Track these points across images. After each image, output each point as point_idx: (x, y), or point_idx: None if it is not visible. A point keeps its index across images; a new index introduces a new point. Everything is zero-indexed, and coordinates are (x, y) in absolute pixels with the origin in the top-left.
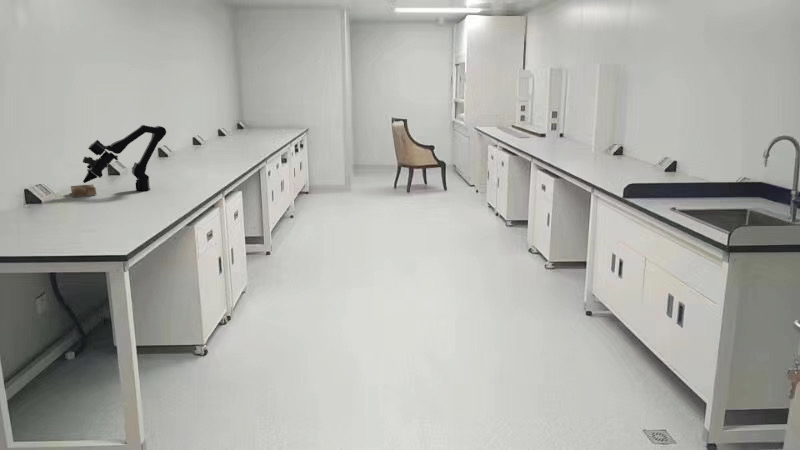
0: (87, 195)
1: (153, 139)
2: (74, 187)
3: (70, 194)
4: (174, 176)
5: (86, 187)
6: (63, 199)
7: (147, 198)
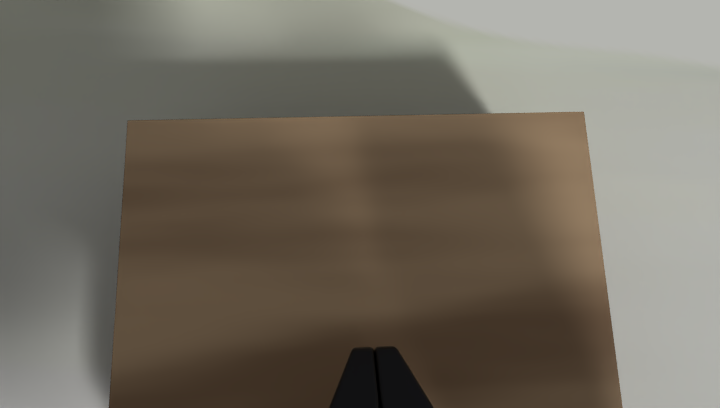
0: None
1: None
2: (342, 159)
3: None
4: None
5: (212, 390)
6: (108, 33)
7: None
